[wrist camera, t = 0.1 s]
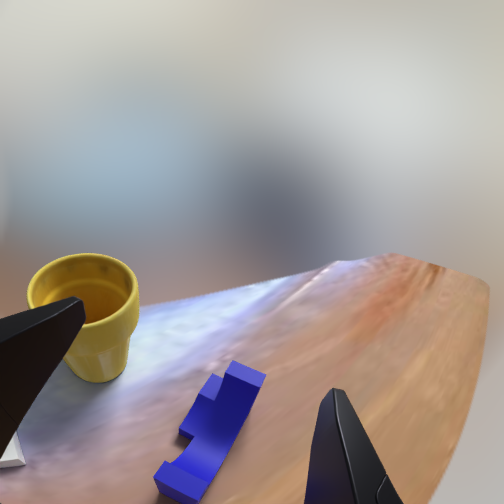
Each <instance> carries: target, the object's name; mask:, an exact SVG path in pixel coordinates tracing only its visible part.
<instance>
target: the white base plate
mask: <svg viewBox="0 0 504 504" xmlns="http://www.w3.org/2000/svg"><path fill="white" fill-rule="evenodd" d="M20 465H26V462H25V459H24V456H23V453H22V450H21V446H20V443H19V439H18V435H17V431H16V432H15V433H14V435H13V437H12V439H11V441H10V442H9V444H8V446H7V448H6V450H5V452H4V454H3V456H2V458H1V459H0V468H5V467H13V466H20Z"/></svg>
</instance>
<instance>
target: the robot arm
mask: <svg viewBox="0 0 504 504" xmlns="http://www.w3.org/2000/svg"><path fill="white" fill-rule="evenodd" d="M85 321H86V313H85V307H84V302H83V301H82V300H81V299H80V298H78V297H76V296H71V297H68V298H65V299H62V300H59V301H55V302H52V303H49V304H46V305H43V306H39V307H36V308H33V309H30V310H27V311H23V312H20V313H17V314H14V315H11V316H8V317H5V318H1V319H0V459H1V458H2V456H3V454H4V452H5V450H6V448H7V446H8V444H9V442H10V441H11V439H12V437H13V435H14V433H15V432H16V430H17V428H18V427H19V425H20V423H21V421H22V420H23V418H24V416H25V415H26V413H27V411H28V410H29V408H30V406H31V405H32V403H33V402H34V400H35V398H36V397H37V395H38V394H39V392H40V391H41V389H42V388H43V386H44V385H45V383H46V382H47V380H48V379H49V377H50V376H51V374H52V373H53V372H54V370H55V369H56V367H57V366H58V364H59V363H60V362H61V360H62V359H63V357H64V356H65V354H66V353H67V352H68V350H69V348H70V347H71V345H72V343H73V341H74V340H75V338H76V336H77V335H78V333H79V331H80V330H81V328H82V326H83V325H84V323H85ZM0 504H1V503H0ZM304 504H403V502H402V500H401V499H400V497H399V495H398V494H397V492H396V490H395V488H394V486H393V485H392V483H391V481H390V479H389V477H388V475H387V474H386V471H385V469H384V467H383V465H382V463H381V461H380V459H379V457H378V455H377V453H376V451H375V449H374V447H373V445H372V443H371V441H370V439H369V437H368V435H367V433H366V432H365V430H364V428H363V426H362V424H361V422H360V420H359V418H358V416H357V414H356V412H355V410H354V408H353V406H352V405H351V403H350V401H349V399H348V397H347V395H346V393H345V391H344V390H341V389H336V388H332V389H330V391H329V392H328V393H327V395H326V396H325V397H324V399H323V400H322V402H321V404H320V407H319V412H318V417H317V422H316V426H315V431H314V436H313V440H312V445H311V453H310V462H309V471H308V479H307V486H306V494H305V500H304Z"/></svg>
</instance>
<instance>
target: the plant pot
mask: <svg viewBox="0 0 504 504" xmlns="http://www.w3.org/2000/svg"><path fill="white" fill-rule="evenodd" d="M71 296H76V297H78V298H80V299H81V300H82V301H83V302H84V307H85V313H86V321H85V323H84V325H83V326H82V328H81V330H80V331H79V333H78V335H77V336H76V338H75V340H74V341H73V343H72V345H71V347H70V348H69V350H68V352H67V353H66V354H65V356H64V357H63V359H64V361H65V362H66V363H67V365H68V366H69V367H70V368H71V370H72V371H73V372H74V373H75V374H76V375H77V376H78V377H80V378H81V379H83V380H85V381H88V382H93V383H102V382H107V381H110V380H112V379H114V378H116V377H117V376H118V375H119V374H120V373H121V372H122V371H123V370H124V368H125V366H126V363H127V358H128V350H129V342H130V336H131V334H132V333H133V331H134V330H135V328H136V326H137V323H138V319H139V291H138V283H137V279H136V277H135V275H134V273H133V272H132V271H131V269H130V268H129V267H128V266H127V265H125V264H124V263H123V262H121V261H119V260H117V259H114V258H113V257H109V256H106V255H101V254H92V253H82V254H74V255H70V256H65V257H62V258H59V259H57V260H55V261H52V262H51V263H49V264H47V265H46V266H44V267H43V268H41V269H40V270H39V271H38V272H37V273H36V274H35V275H34V276H33V278H32V279H31V281H30V283H29V286H28V289H27V304H28V308H29V310H30V309H33V308H36V307H39V306H43V305H46V304H49V303H52V302H55V301H59V300H62V299H65V298H68V297H71Z"/></svg>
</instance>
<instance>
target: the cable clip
mask: <svg viewBox="0 0 504 504" xmlns="http://www.w3.org/2000/svg"><path fill="white" fill-rule="evenodd" d="M265 377H266V374H263V373H261V372H259V371H256V370H254V369H251V368H249V367H247V366H245V365H242V364H240V363H238V362H235V361H232V362H231V364H230V365H229V367H228V369H227V370H226V372H225V374H224V378H221V377H219V376H217V375H215V374H213V373H212V375H211V376H210V378H209V379H208V380H207V382H206V383H205V385H204V386H203V388H202V389H201V390H200V392H199V393H198V396H197V398H196V400H195V402H194V404H193V406H192V407H191V409H190V411H189V413H188V414H187V416H186V418H185V419H184V421H183V422H182V424H181V425H180V427H179V434H181V435H182V436H184V437H186V438H188V439H190V440H192V441H191V442H190V444H189V445H188V447H187V448H186V449H185V450H184V452H183V453H182V454H181V455H180V456H179V457H178V458H177V459H176V460H175V461H173V462H172V463H169V462H167V461H164V463H163V464H162V465H161V467H160V468H159V469H158V471H157V472H156V474H155V475H154V476H153V478H154V480H155V483H156V485H157V487H158V489H159V492H161V493H162V494H164V495H166V496H168V497H170V498H172V499H174V500H176V501H178V502H180V503H182V504H198V503H199V502H200V500H201V498H202V497H203V495H204V494H205V492H206V490H207V489H208V487H209V485H210V483H211V482H212V480H213V478H214V477H215V475H216V473H217V471H218V470H219V468H220V466H221V464H222V463H223V461H224V459H225V457H226V455H227V454H228V452H229V450H230V448H231V446H232V444H233V443H234V441H235V439H236V437H237V435H238V433H239V431H240V429H241V427H242V426H243V424H244V422H245V420H246V418H247V416H248V414H249V412H250V410H251V408H252V406H253V403H254V401H255V399H256V397H257V395H258V392H259V390H260V388H261V386H262V383H263V381H264V379H265Z"/></svg>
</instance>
